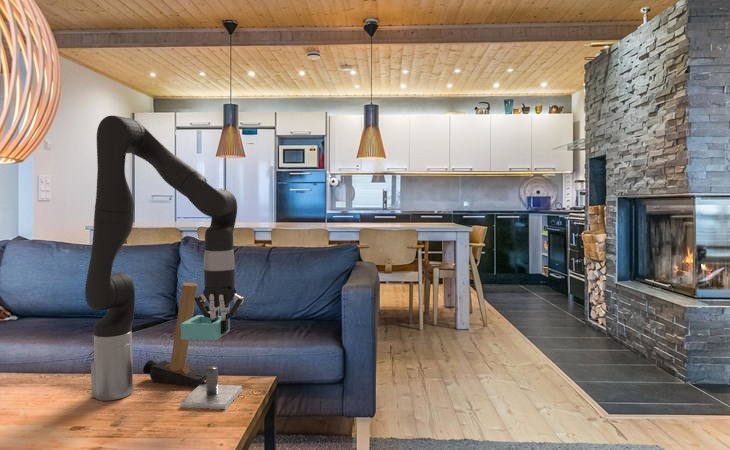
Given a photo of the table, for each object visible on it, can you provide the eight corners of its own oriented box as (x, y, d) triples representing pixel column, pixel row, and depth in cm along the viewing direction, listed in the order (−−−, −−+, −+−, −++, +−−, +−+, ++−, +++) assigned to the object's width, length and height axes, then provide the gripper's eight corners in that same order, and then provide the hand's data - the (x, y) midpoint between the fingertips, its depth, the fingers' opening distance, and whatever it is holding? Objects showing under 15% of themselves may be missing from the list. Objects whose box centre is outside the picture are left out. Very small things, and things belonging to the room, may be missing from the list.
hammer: (211, 389, 142) (227, 290, 139) (201, 395, 137) (217, 294, 134) (153, 370, 146) (167, 275, 143) (141, 376, 142) (155, 277, 139)
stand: (180, 407, 124) (179, 375, 124) (200, 389, 136) (200, 359, 136) (225, 409, 123) (224, 377, 123) (241, 391, 135) (241, 361, 134)
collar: (181, 339, 122) (180, 323, 121) (197, 329, 131) (197, 315, 130) (215, 340, 121) (214, 325, 120) (229, 331, 129) (229, 316, 129)
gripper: (187, 268, 121) (188, 336, 122) (239, 270, 120) (239, 338, 121) (201, 264, 129) (201, 328, 130) (250, 265, 127) (250, 330, 128)
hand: (220, 333), depth 125 cm, fingers closed on collar, 1 cm apart
